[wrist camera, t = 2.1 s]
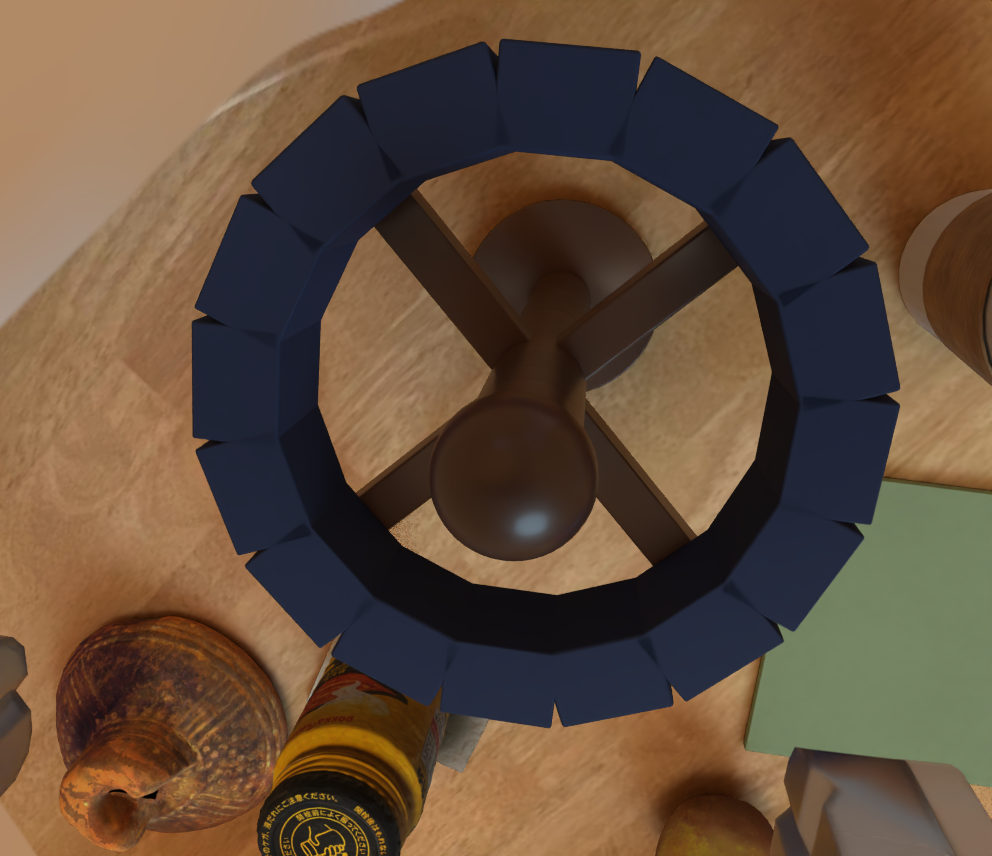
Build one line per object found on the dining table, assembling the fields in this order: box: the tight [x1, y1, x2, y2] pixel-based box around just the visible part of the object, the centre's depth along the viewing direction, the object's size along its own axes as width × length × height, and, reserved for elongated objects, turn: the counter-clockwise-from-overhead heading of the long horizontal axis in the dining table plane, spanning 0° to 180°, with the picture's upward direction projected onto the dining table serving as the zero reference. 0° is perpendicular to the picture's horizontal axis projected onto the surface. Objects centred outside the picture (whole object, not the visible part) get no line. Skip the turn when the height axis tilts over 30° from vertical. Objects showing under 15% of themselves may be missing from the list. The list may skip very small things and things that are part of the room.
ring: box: [192, 39, 900, 728], centre depth 20 cm, size 15×15×3 cm
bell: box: [56, 616, 287, 852], centre depth 41 cm, size 12×12×7 cm
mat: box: [744, 477, 992, 787], centre depth 39 cm, size 14×14×1 cm
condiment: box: [257, 634, 489, 856], centre depth 37 cm, size 7×8×12 cm
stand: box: [356, 189, 738, 566], centre depth 25 cm, size 11×11×24 cm
